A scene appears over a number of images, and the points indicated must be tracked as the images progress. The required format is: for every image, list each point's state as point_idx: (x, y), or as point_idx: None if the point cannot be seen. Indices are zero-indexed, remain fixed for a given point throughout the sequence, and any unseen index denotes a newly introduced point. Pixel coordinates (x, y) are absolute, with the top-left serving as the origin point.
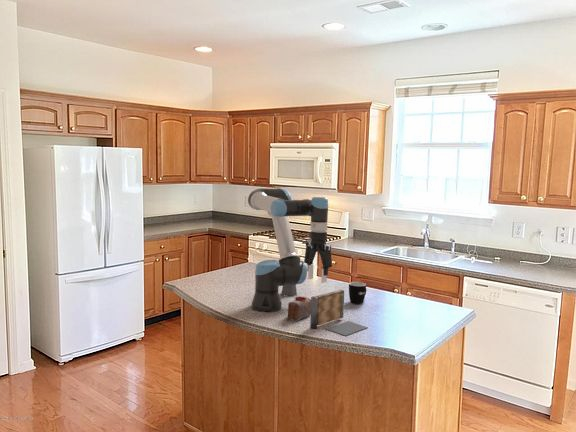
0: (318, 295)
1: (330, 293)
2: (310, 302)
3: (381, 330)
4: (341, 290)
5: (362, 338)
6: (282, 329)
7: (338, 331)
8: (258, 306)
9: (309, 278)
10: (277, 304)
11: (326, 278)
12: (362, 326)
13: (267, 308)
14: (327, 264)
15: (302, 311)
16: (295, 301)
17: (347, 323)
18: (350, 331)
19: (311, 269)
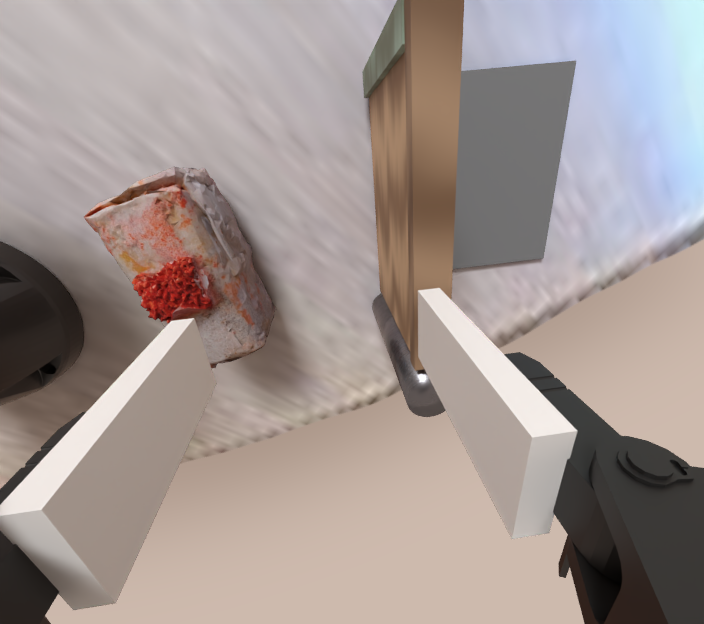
0: (415, 350)
1: (439, 227)
2: (214, 220)
3: (650, 17)
4: (441, 10)
5: (608, 212)
6: (324, 405)
7: (494, 250)
8: (35, 391)
9: (212, 386)
10: (43, 311)
11: (458, 311)
12: (546, 79)
13: (68, 360)
14: None
15: (258, 293)
16: (207, 341)
17: (459, 118)
18: (535, 202)
19: (141, 458)
